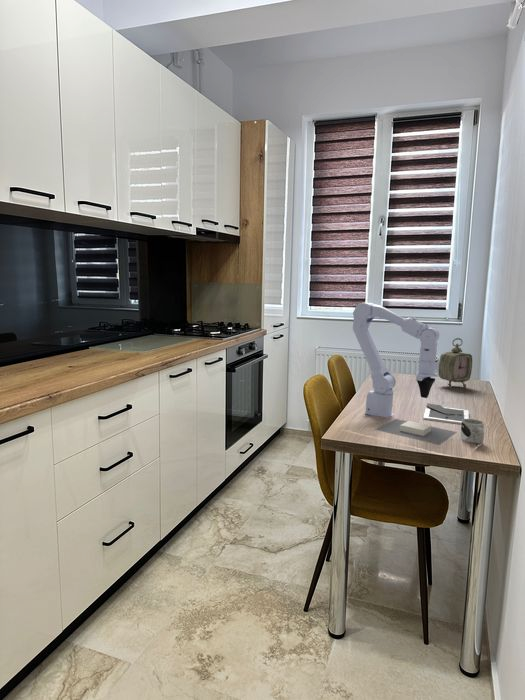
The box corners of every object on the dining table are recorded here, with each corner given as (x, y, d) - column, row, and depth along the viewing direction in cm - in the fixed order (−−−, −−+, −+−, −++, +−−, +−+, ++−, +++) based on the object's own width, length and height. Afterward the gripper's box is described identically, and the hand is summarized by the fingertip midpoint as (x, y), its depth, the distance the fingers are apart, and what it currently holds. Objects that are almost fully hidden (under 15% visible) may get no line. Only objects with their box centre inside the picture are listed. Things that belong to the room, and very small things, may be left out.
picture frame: (426, 409, 198) (423, 422, 179) (427, 403, 197) (423, 415, 178) (467, 415, 192) (468, 429, 173) (468, 408, 191) (469, 421, 172)
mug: (456, 437, 160) (458, 418, 159) (475, 438, 160) (477, 418, 159) (471, 448, 150) (473, 427, 149) (491, 448, 150) (493, 428, 149)
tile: (407, 426, 168) (399, 430, 163) (408, 420, 168) (400, 425, 163) (430, 431, 163) (423, 436, 158) (431, 425, 163) (423, 430, 158)
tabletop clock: (449, 390, 235) (454, 339, 231) (435, 386, 243) (439, 337, 239) (469, 388, 241) (474, 338, 238) (455, 384, 249) (459, 336, 246)
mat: (374, 430, 163) (374, 429, 163) (395, 420, 177) (396, 418, 177) (439, 446, 150) (439, 444, 150) (456, 433, 164) (457, 432, 164)
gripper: (431, 364, 165) (428, 402, 167) (445, 360, 176) (441, 396, 178) (411, 361, 169) (408, 399, 171) (426, 357, 181) (423, 392, 183)
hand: (424, 397), depth 175 cm, fingers closed
